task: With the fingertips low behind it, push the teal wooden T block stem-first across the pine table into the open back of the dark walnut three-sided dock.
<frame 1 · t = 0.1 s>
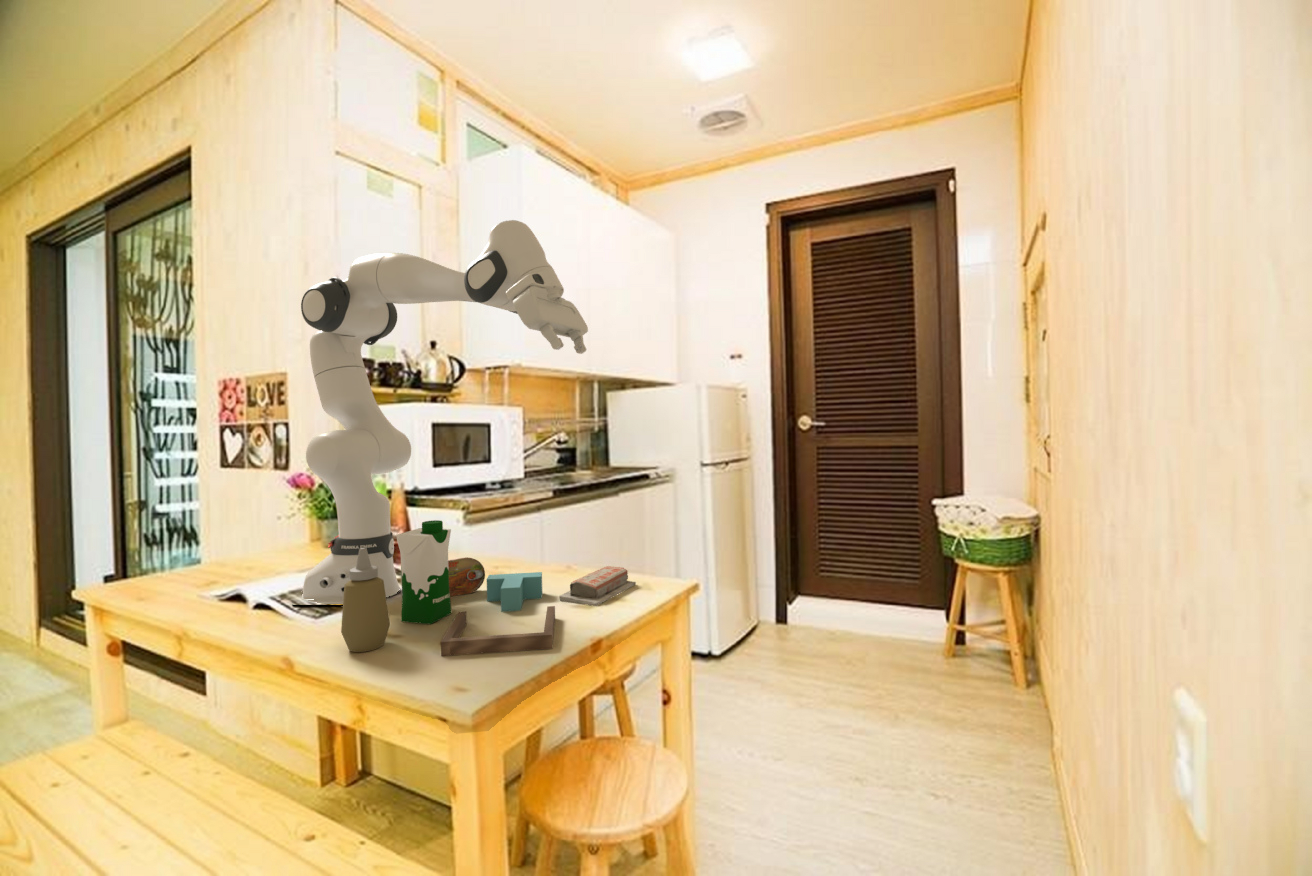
hand: (571, 350, 122), 54 cm above the table, tool tilted 30°, fingers open, 8 cm apart
packaged product: (599, 595, 143), on the table
tin: (451, 595, 143), on the table
walnut dock: (503, 634, 116), on the table
squeeze bottle: (366, 648, 111), on the table
milk carton: (426, 618, 127), on the table
teal T block: (513, 602, 136), on the table
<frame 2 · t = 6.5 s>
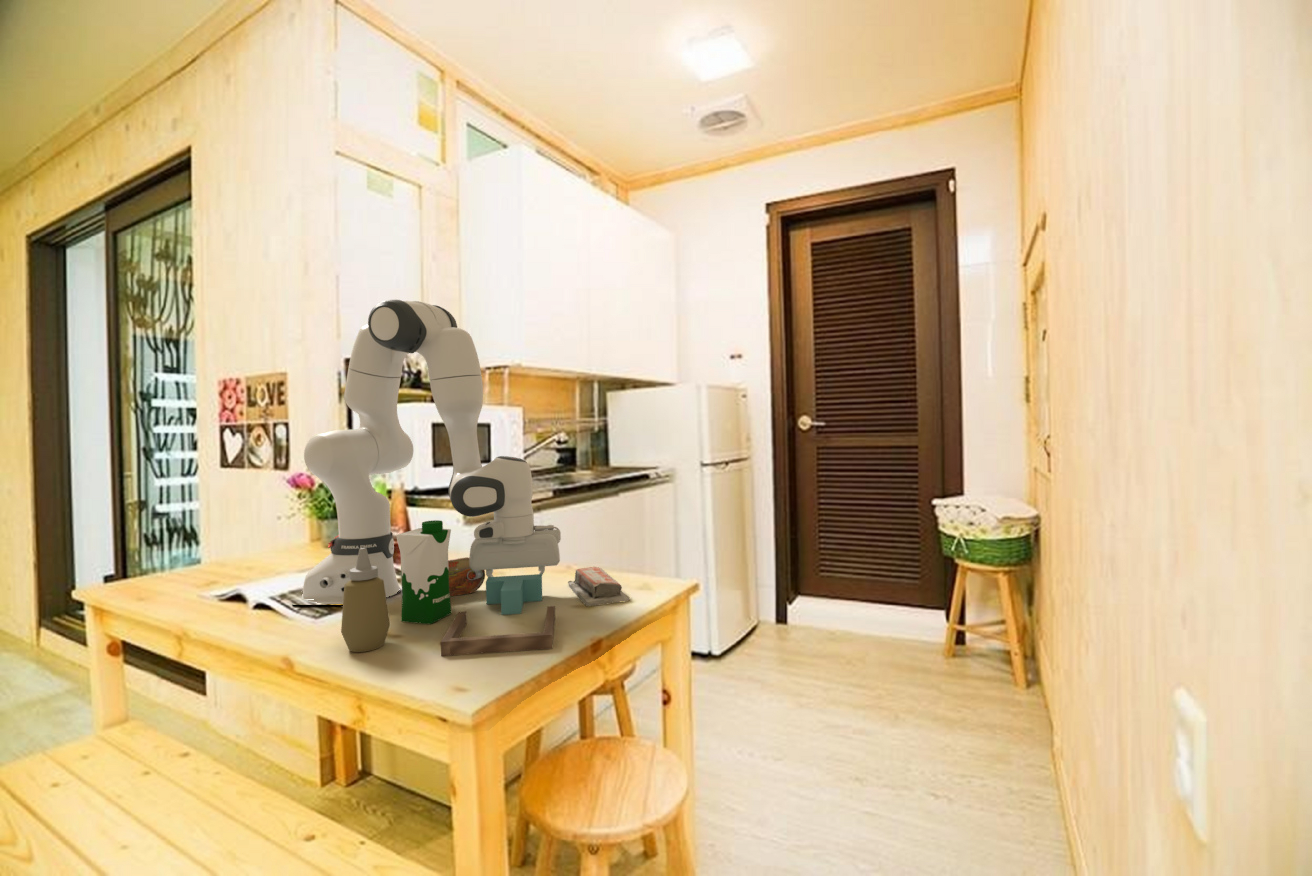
hand: (516, 586, 141), 2 cm above the table, tool pointing down, fingers open, 8 cm apart
teal T block: (513, 605, 134), on the table
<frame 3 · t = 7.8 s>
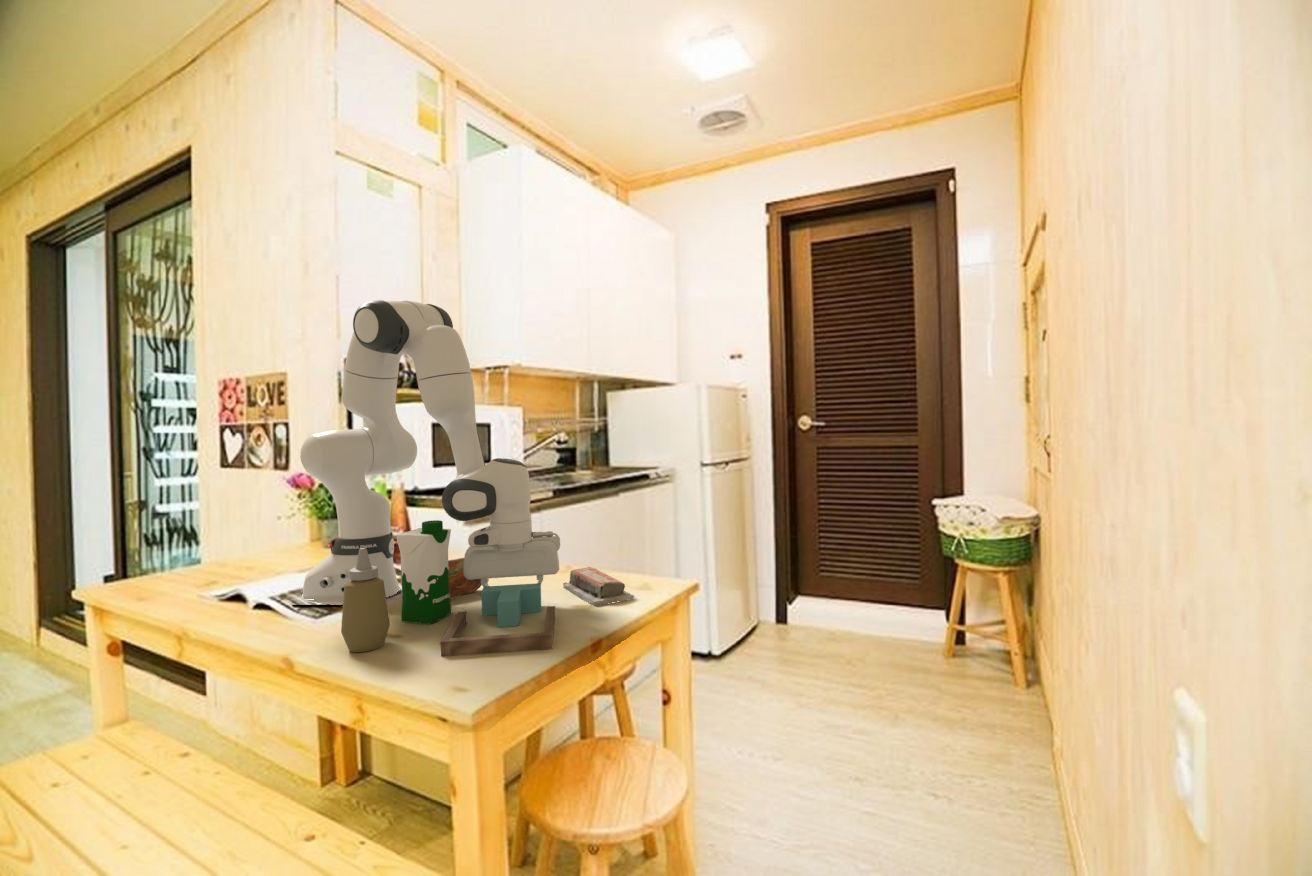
hand: (513, 596, 133), 2 cm above the table, tool pointing down
teal T block: (510, 616, 127), on the table, touching gripper
when the fingers open (2 cm above the table, at t = 10.9 s): teal T block stays where it is, on the table.
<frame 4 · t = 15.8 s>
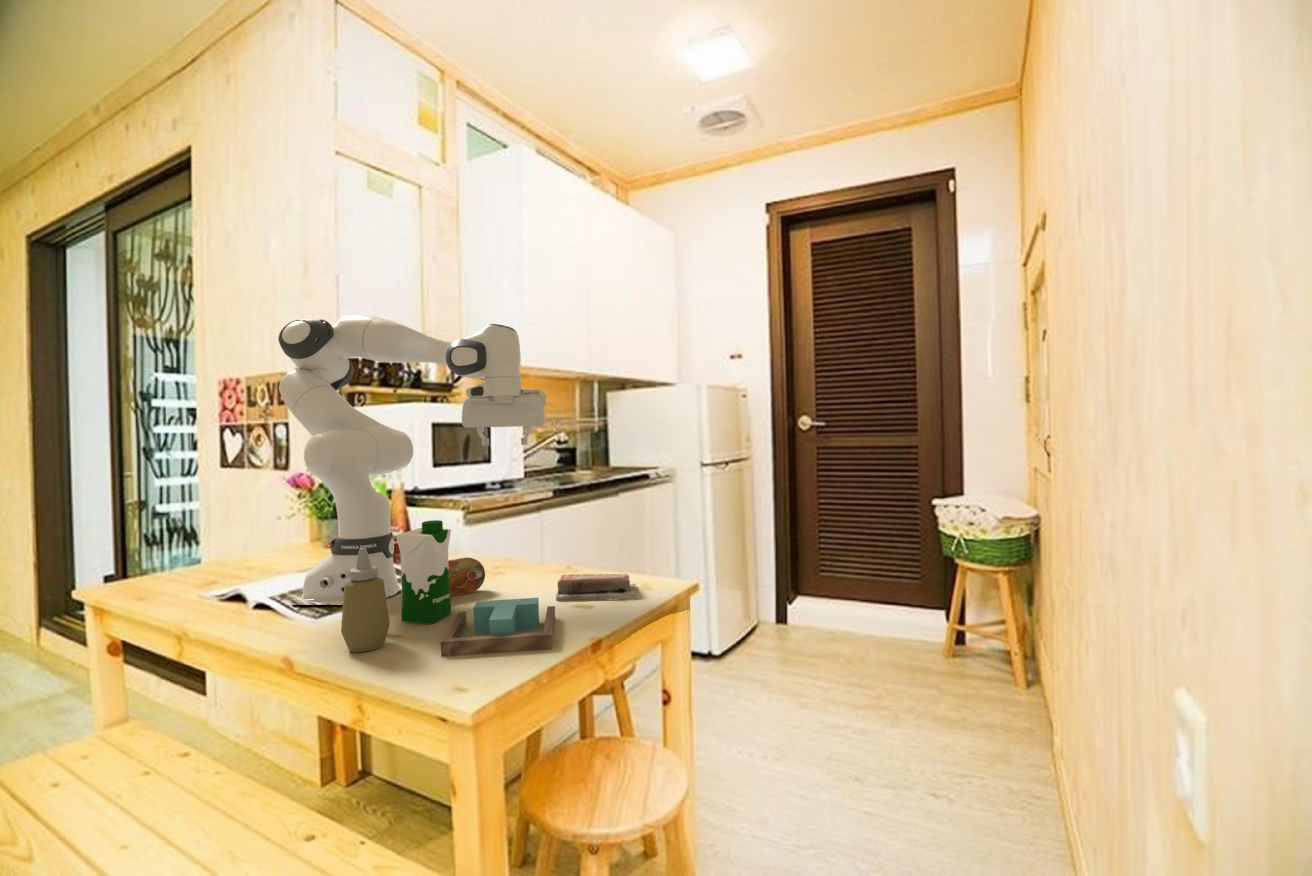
hand: (505, 445, 153), 34 cm above the table, tool pointing down, fingers open, 8 cm apart
teal T block: (505, 634, 116), on the table
at the end: teal T block inside the target area (0.4 cm from its centre), on the table; teal T block tilted 0° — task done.
